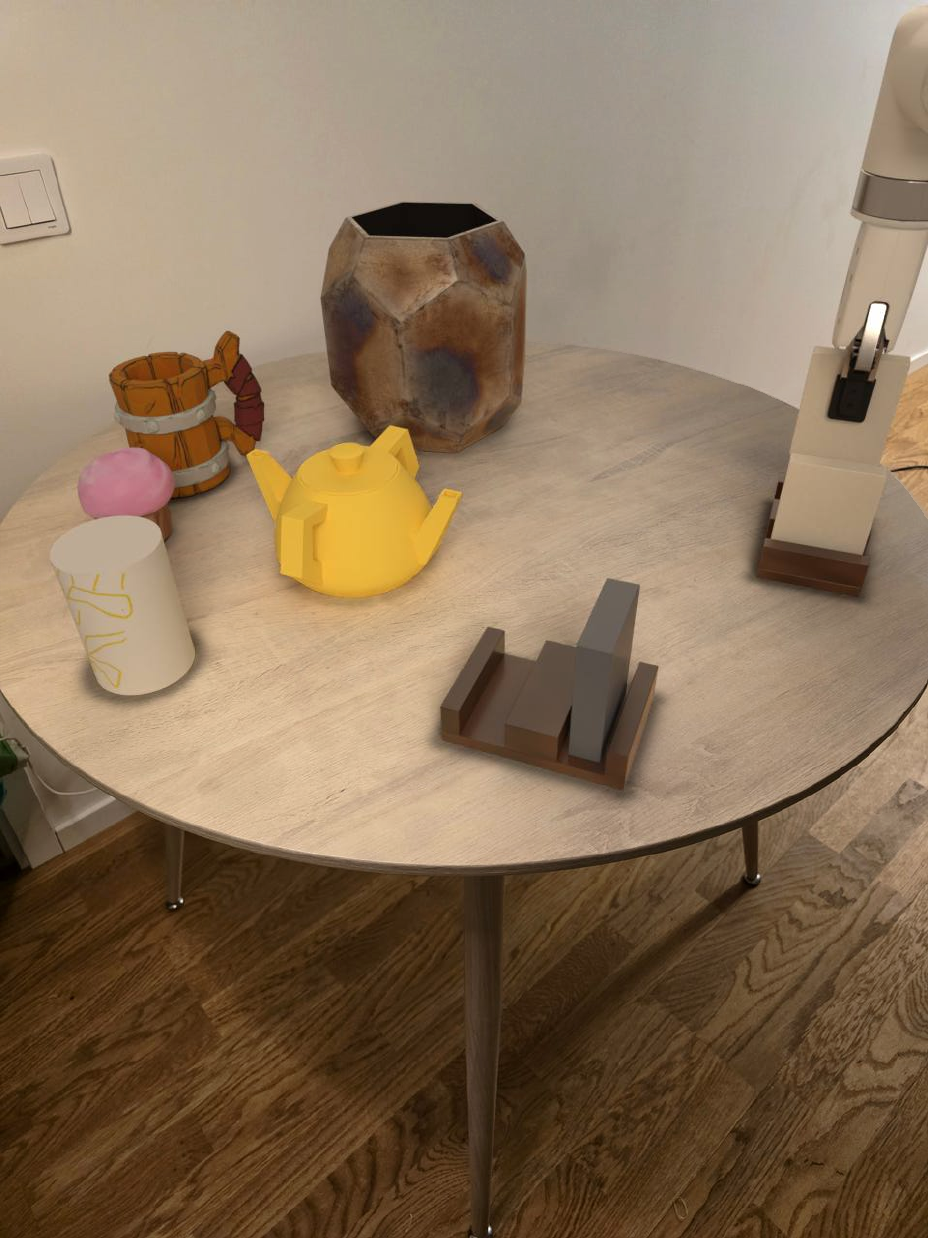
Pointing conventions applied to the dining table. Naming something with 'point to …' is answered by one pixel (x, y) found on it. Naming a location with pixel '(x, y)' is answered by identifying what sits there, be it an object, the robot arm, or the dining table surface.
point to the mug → (189, 411)
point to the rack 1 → (539, 710)
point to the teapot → (354, 516)
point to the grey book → (602, 669)
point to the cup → (124, 603)
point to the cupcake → (128, 487)
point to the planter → (427, 321)
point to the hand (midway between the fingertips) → (846, 412)
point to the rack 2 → (810, 562)
